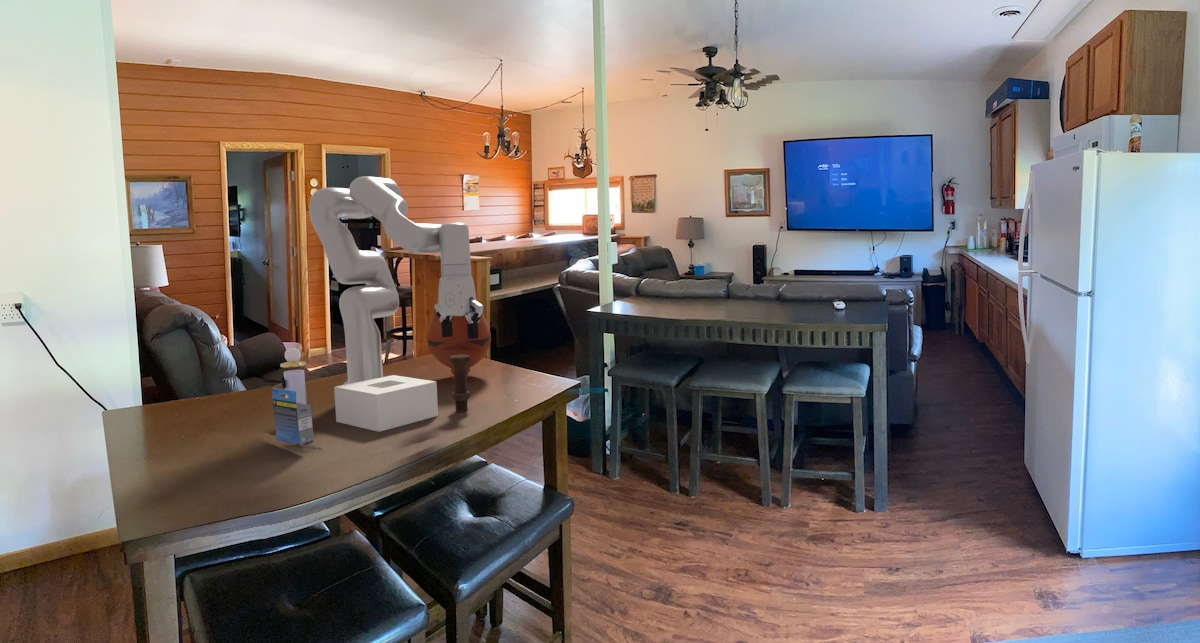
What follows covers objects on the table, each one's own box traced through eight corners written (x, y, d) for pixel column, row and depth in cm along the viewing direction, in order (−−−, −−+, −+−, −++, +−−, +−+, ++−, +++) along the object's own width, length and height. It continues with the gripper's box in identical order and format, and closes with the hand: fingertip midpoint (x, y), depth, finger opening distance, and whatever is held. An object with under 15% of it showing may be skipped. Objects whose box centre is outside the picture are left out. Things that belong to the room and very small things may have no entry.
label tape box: (314, 441, 157) (311, 387, 156) (299, 445, 154) (295, 391, 152) (290, 436, 161) (286, 384, 160) (274, 440, 158) (270, 387, 157)
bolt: (460, 415, 178) (458, 358, 176) (446, 413, 181) (444, 356, 179) (476, 411, 183) (474, 355, 181) (462, 408, 185) (460, 353, 184)
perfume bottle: (310, 424, 172) (305, 344, 170) (310, 429, 167) (305, 348, 164) (285, 427, 170) (279, 346, 167) (284, 432, 164) (278, 349, 162)
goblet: (505, 385, 216) (502, 305, 213) (454, 396, 201) (451, 311, 199) (466, 378, 228) (463, 303, 225) (417, 388, 214) (413, 308, 211)
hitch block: (336, 421, 174) (334, 386, 173) (395, 407, 188) (393, 375, 187) (379, 431, 164) (377, 394, 163) (438, 415, 178) (436, 381, 177)
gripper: (422, 272, 180) (426, 338, 181) (468, 271, 169) (472, 341, 171) (444, 271, 186) (448, 334, 187) (490, 270, 175) (494, 337, 177)
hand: (460, 337), depth 179 cm, fingers open, 9 cm apart
